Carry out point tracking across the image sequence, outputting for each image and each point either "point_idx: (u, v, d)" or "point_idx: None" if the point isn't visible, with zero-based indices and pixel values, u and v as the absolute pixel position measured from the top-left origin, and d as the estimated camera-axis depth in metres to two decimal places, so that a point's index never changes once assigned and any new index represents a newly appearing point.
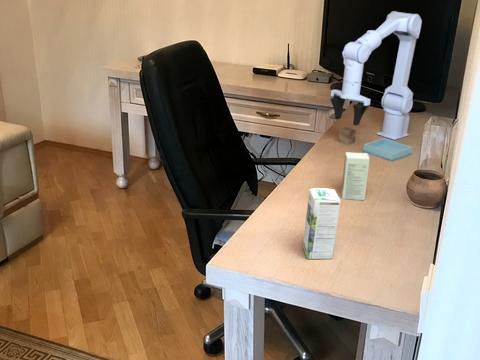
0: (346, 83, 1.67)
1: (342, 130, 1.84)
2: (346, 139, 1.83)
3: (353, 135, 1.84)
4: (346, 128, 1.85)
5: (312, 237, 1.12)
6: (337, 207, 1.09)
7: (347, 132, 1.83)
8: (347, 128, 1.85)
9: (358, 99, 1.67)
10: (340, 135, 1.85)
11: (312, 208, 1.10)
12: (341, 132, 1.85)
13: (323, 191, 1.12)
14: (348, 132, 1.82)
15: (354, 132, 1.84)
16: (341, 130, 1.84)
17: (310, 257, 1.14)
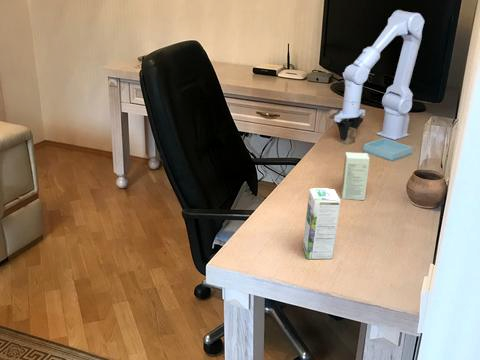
0: None
1: None
2: (346, 138, 1.83)
3: (353, 135, 1.84)
4: None
5: (312, 237, 1.12)
6: (337, 207, 1.09)
7: None
8: None
9: None
10: None
11: (312, 208, 1.10)
12: None
13: (323, 191, 1.12)
14: (348, 132, 1.82)
15: (354, 132, 1.84)
16: None
17: (310, 257, 1.14)
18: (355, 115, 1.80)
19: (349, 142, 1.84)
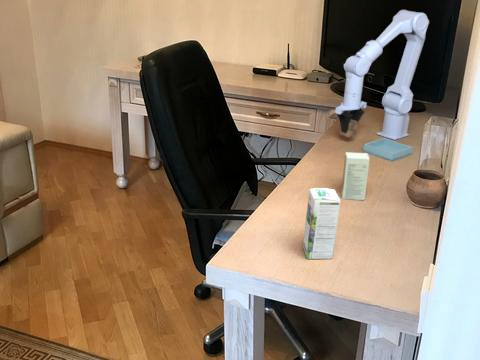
0: None
1: None
2: (347, 131, 1.82)
3: (354, 127, 1.83)
4: None
5: (312, 237, 1.12)
6: (337, 207, 1.09)
7: None
8: None
9: None
10: None
11: (312, 208, 1.10)
12: None
13: (323, 191, 1.12)
14: (349, 124, 1.81)
15: (355, 124, 1.83)
16: None
17: (310, 257, 1.14)
18: (356, 107, 1.79)
19: (350, 134, 1.83)
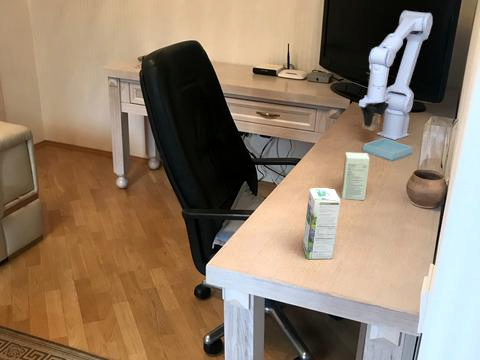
0: None
1: None
2: None
3: (377, 121, 1.77)
4: None
5: (312, 237, 1.12)
6: (337, 207, 1.09)
7: None
8: None
9: None
10: None
11: (312, 208, 1.10)
12: None
13: (323, 191, 1.12)
14: None
15: (378, 118, 1.77)
16: None
17: (310, 257, 1.14)
18: (381, 100, 1.72)
19: (373, 128, 1.77)
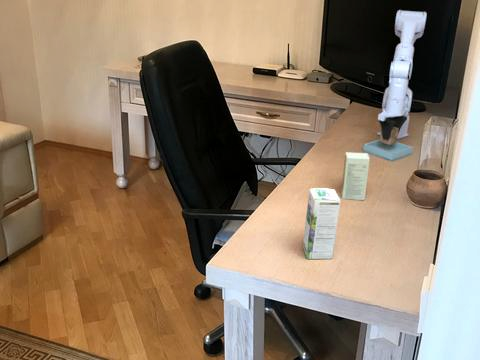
0: None
1: None
2: None
3: (395, 134, 1.75)
4: None
5: (312, 237, 1.12)
6: (337, 207, 1.09)
7: None
8: None
9: None
10: (381, 135, 1.76)
11: (312, 208, 1.10)
12: None
13: (323, 191, 1.12)
14: None
15: (396, 131, 1.75)
16: None
17: (310, 257, 1.14)
18: (400, 113, 1.70)
19: (391, 142, 1.75)
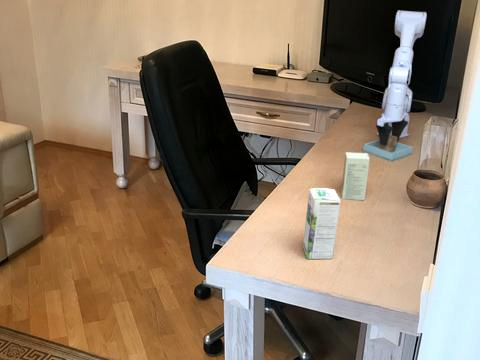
0: None
1: None
2: (387, 147, 1.75)
3: (394, 143, 1.76)
4: None
5: (312, 237, 1.12)
6: (337, 207, 1.09)
7: (388, 140, 1.74)
8: None
9: None
10: None
11: (312, 208, 1.10)
12: None
13: (323, 191, 1.12)
14: (389, 140, 1.74)
15: (395, 140, 1.76)
16: None
17: (310, 257, 1.14)
18: (399, 119, 1.71)
19: (390, 151, 1.76)
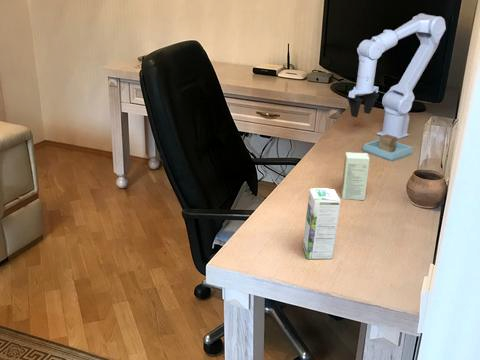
0: None
1: (382, 138, 1.76)
2: (387, 147, 1.75)
3: (394, 143, 1.76)
4: (386, 136, 1.76)
5: (312, 237, 1.12)
6: (337, 207, 1.09)
7: (388, 140, 1.74)
8: (387, 136, 1.76)
9: None
10: (380, 143, 1.77)
11: (312, 208, 1.10)
12: (381, 140, 1.76)
13: (323, 191, 1.12)
14: (389, 140, 1.74)
15: (395, 140, 1.76)
16: (381, 138, 1.76)
17: (310, 257, 1.14)
18: (369, 91, 1.79)
19: (390, 151, 1.76)
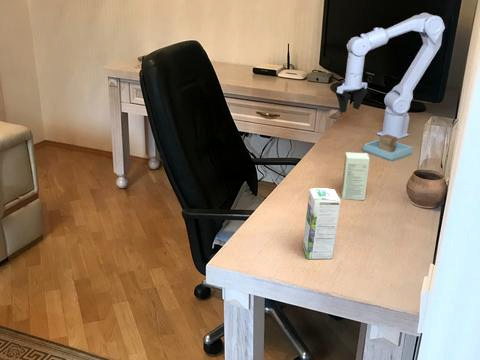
0: None
1: (382, 138, 1.76)
2: (387, 147, 1.75)
3: (394, 143, 1.76)
4: (386, 136, 1.76)
5: (312, 237, 1.12)
6: (337, 207, 1.09)
7: (388, 140, 1.74)
8: (387, 136, 1.76)
9: None
10: (380, 143, 1.77)
11: (312, 208, 1.10)
12: (381, 140, 1.76)
13: (323, 191, 1.12)
14: (389, 140, 1.74)
15: (395, 140, 1.76)
16: (381, 138, 1.76)
17: (310, 257, 1.14)
18: (357, 87, 1.84)
19: (390, 151, 1.76)
